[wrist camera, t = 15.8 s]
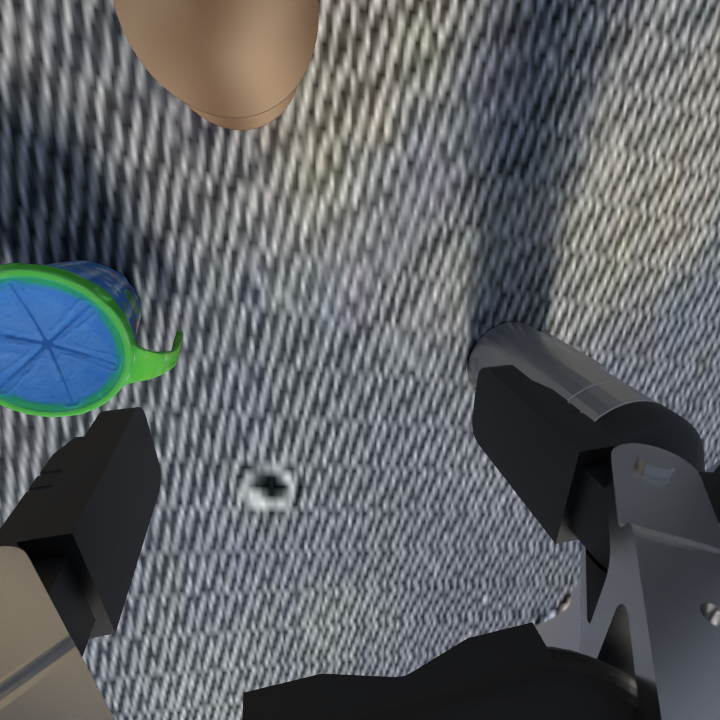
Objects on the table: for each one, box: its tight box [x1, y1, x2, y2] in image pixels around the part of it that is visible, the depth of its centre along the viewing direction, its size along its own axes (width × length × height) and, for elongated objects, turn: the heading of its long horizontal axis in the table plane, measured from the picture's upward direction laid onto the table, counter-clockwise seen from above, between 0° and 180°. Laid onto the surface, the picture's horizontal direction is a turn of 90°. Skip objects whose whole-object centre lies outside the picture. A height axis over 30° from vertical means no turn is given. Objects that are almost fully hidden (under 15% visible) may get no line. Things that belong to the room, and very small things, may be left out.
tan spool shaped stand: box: [113, 0, 318, 130], centre depth 26 cm, size 10×10×11 cm
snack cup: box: [0, 260, 183, 417], centre depth 32 cm, size 16×10×10 cm
